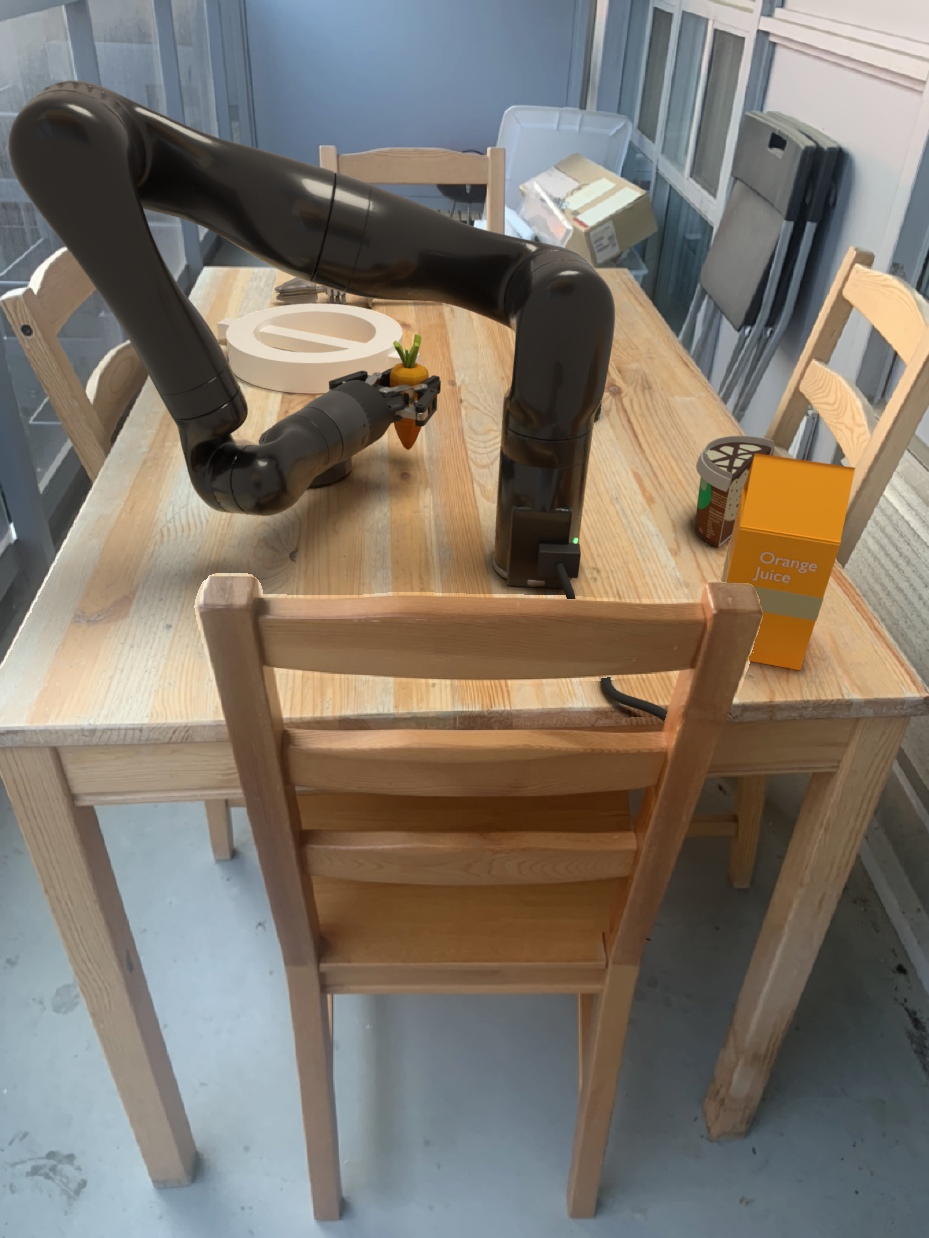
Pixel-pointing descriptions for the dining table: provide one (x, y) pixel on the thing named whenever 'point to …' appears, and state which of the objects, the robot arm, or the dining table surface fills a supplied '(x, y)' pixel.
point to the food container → (724, 483)
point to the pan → (328, 475)
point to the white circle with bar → (309, 345)
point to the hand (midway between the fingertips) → (417, 378)
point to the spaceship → (308, 293)
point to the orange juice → (787, 548)
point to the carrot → (410, 376)
